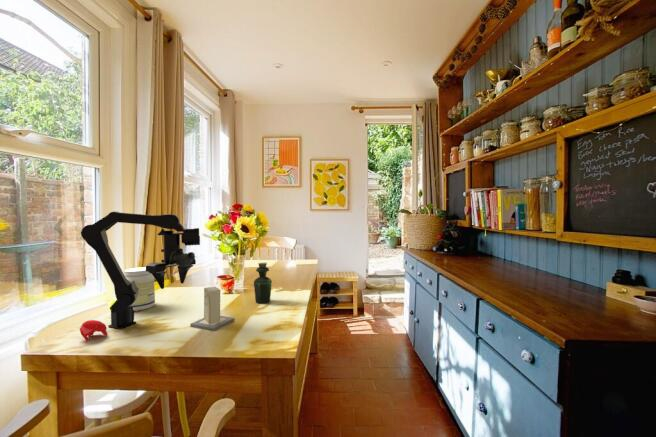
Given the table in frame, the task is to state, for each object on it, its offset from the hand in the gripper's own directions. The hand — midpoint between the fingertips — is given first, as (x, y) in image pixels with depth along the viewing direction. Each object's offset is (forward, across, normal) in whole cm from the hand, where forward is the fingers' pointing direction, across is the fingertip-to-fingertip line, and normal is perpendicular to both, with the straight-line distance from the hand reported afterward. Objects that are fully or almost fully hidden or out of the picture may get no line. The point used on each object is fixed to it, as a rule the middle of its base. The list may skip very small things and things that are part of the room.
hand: (172, 286), depth 122 cm
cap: (+13, -23, +10) cm, 28 cm away
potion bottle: (+13, +32, -20) cm, 40 cm away
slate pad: (+13, +2, -18) cm, 22 cm away
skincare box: (+12, +2, -18) cm, 22 cm away
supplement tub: (+13, +5, +26) cm, 30 cm away
